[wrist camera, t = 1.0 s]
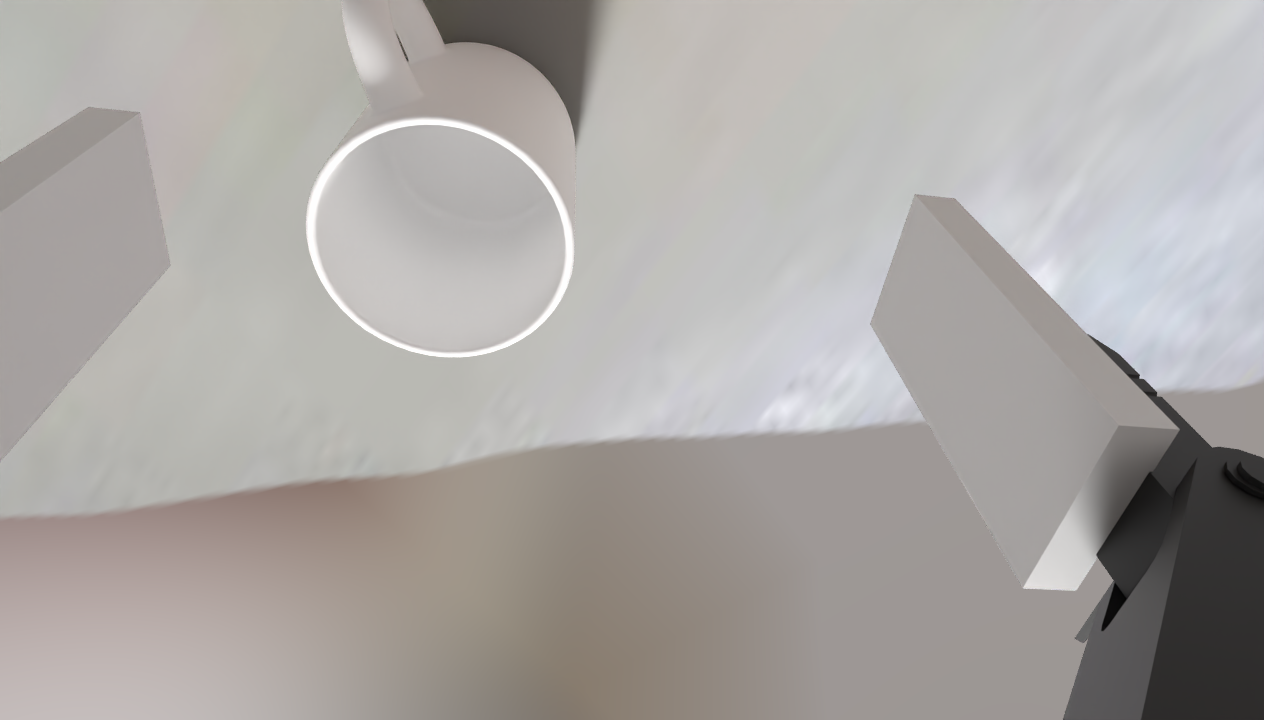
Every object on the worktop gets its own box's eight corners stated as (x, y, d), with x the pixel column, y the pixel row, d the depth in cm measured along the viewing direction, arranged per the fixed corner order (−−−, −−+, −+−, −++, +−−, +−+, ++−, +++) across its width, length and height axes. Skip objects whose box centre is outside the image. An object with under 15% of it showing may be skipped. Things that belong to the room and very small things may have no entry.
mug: (292, -28, 30) (178, 32, 22) (502, -98, 29) (471, -65, 21) (424, 253, 37) (377, 384, 28) (600, 202, 36) (607, 322, 27)
